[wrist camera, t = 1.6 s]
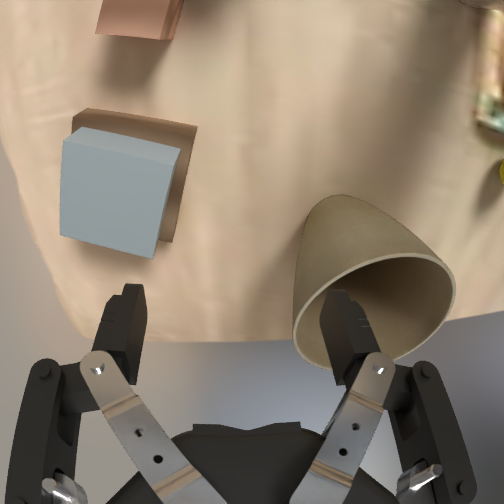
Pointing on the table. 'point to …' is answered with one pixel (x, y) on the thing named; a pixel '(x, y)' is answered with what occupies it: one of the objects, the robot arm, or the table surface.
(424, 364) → the robot arm
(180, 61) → the table surface
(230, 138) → the table surface
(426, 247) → the plant pot
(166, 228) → the walnut base slab
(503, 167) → the lemon
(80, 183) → the grey upper slab
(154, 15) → the terracotta block
